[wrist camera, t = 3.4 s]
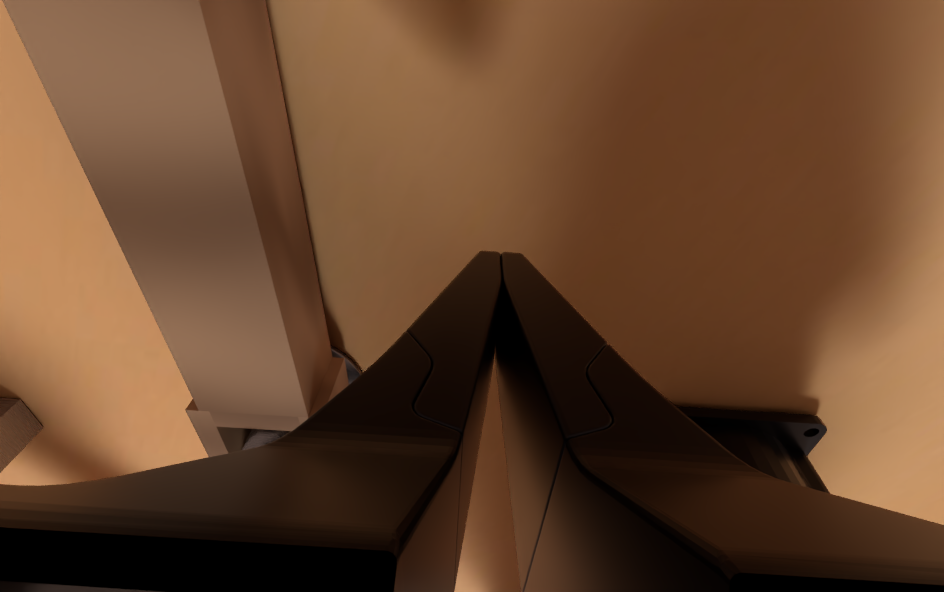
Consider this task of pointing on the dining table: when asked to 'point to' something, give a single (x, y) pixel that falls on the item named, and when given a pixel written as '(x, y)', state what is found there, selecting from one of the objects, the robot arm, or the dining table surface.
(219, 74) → the link
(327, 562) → the robot arm
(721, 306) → the dining table surface
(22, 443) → the block
